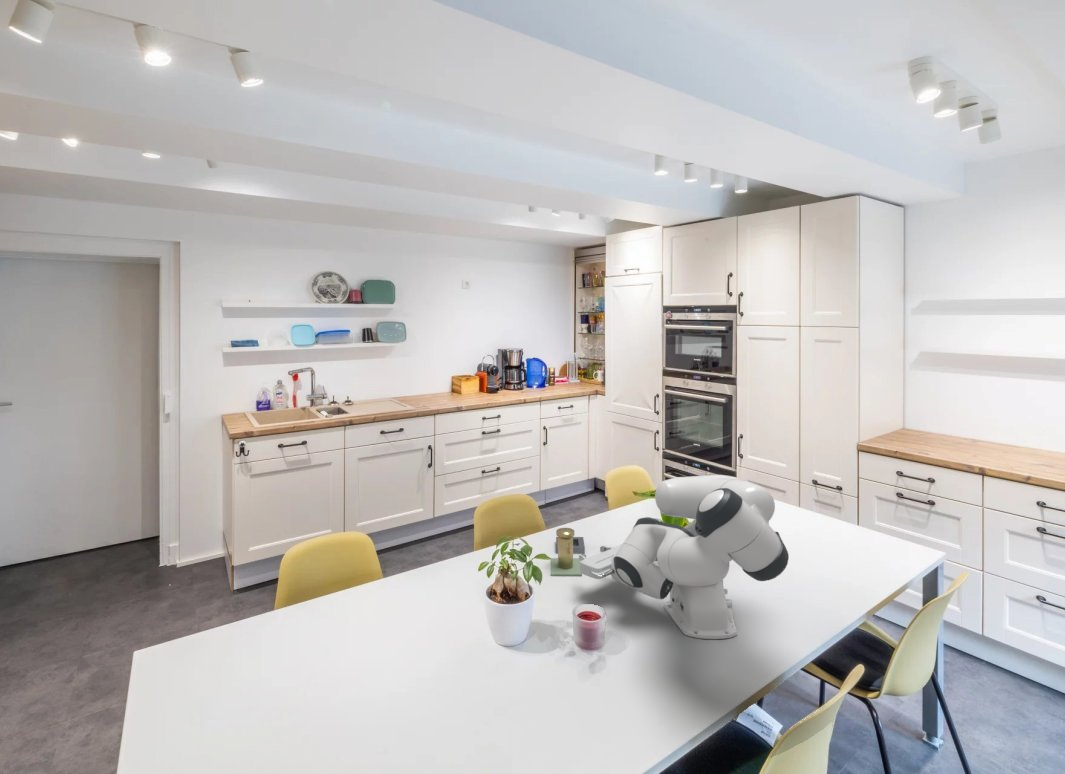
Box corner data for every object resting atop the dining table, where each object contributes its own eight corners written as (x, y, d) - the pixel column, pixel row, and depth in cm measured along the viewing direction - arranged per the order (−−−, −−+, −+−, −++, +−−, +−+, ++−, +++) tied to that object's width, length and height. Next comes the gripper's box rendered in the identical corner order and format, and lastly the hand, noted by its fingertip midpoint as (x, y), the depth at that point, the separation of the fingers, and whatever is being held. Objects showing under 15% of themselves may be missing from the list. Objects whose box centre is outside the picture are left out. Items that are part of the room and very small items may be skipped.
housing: (584, 555, 192) (584, 548, 192) (556, 554, 193) (556, 548, 192) (583, 543, 202) (583, 537, 202) (556, 543, 203) (556, 536, 202)
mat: (581, 576, 176) (581, 574, 176) (550, 576, 177) (550, 574, 177) (579, 559, 188) (579, 558, 188) (550, 559, 189) (550, 558, 189)
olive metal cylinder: (574, 570, 179) (574, 534, 178) (556, 570, 180) (556, 534, 178) (574, 562, 185) (574, 527, 184) (556, 562, 186) (556, 527, 184)
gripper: (599, 588, 156) (566, 571, 166) (646, 567, 168) (612, 553, 179) (599, 567, 155) (566, 551, 165) (646, 548, 168) (612, 534, 178)
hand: (591, 552), depth 172 cm, fingers open, 8 cm apart
